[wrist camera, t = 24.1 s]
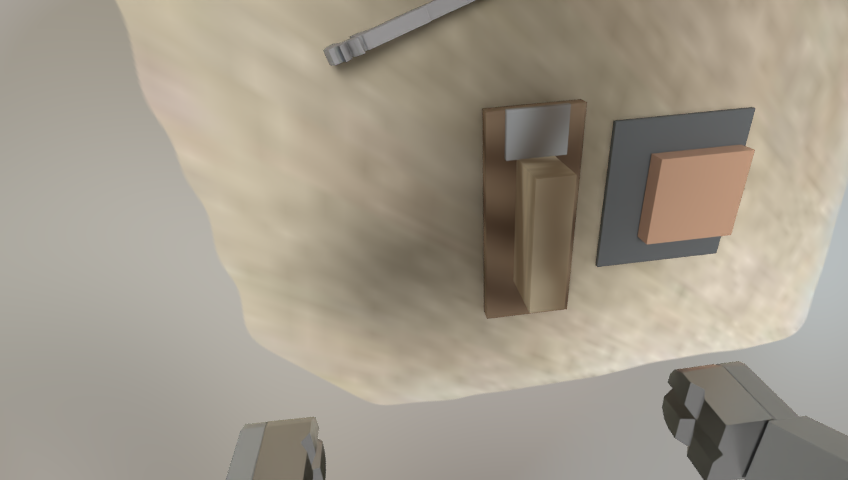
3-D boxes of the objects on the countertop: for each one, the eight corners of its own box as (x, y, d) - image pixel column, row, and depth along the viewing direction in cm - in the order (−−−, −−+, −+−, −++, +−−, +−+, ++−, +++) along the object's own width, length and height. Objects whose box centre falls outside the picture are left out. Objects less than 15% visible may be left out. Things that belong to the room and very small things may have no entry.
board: (482, 108, 36) (485, 112, 35) (580, 99, 37) (586, 102, 36) (484, 311, 46) (486, 318, 45) (562, 301, 46) (566, 308, 45)
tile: (662, 159, 38) (754, 149, 38) (650, 153, 39) (740, 143, 40) (646, 244, 41) (731, 234, 42) (636, 235, 43) (718, 226, 43)
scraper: (502, 282, 43) (517, 314, 39) (505, 109, 35) (524, 125, 31) (555, 275, 43) (575, 307, 39) (568, 102, 36) (596, 117, 31)
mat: (613, 120, 38) (615, 121, 38) (751, 107, 39) (755, 108, 38) (595, 264, 45) (597, 266, 44) (713, 251, 45) (716, 253, 45)
